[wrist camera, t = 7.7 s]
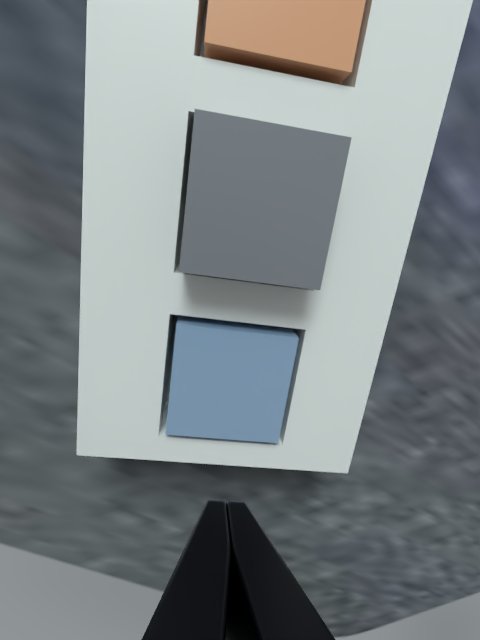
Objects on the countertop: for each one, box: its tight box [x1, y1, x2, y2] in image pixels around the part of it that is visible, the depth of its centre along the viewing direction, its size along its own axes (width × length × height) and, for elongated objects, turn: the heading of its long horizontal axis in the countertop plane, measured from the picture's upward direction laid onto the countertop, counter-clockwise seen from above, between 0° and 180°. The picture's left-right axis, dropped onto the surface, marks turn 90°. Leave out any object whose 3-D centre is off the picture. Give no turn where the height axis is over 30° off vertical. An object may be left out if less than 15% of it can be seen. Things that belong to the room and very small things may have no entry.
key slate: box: [165, 315, 299, 443], centre depth 16 cm, size 5×5×3 cm
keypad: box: [77, 0, 473, 473], centre depth 15 cm, size 22×12×4 cm, turn 172°
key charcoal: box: [179, 109, 352, 290], centre depth 13 cm, size 5×5×3 cm
